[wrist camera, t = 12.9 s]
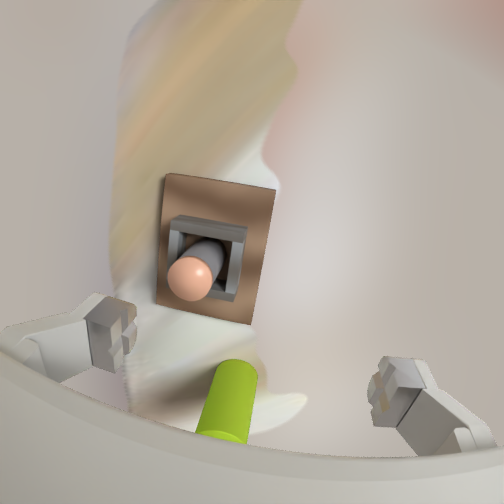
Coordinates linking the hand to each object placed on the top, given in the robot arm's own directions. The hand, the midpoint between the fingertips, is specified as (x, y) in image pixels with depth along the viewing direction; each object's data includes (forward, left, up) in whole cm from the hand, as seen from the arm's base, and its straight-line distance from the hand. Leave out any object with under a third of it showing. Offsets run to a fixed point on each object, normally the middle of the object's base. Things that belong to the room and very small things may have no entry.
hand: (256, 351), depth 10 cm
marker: (+6, -7, -25) cm, 26 cm away
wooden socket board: (+6, -7, -26) cm, 28 cm away
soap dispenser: (+24, -2, -26) cm, 36 cm away
